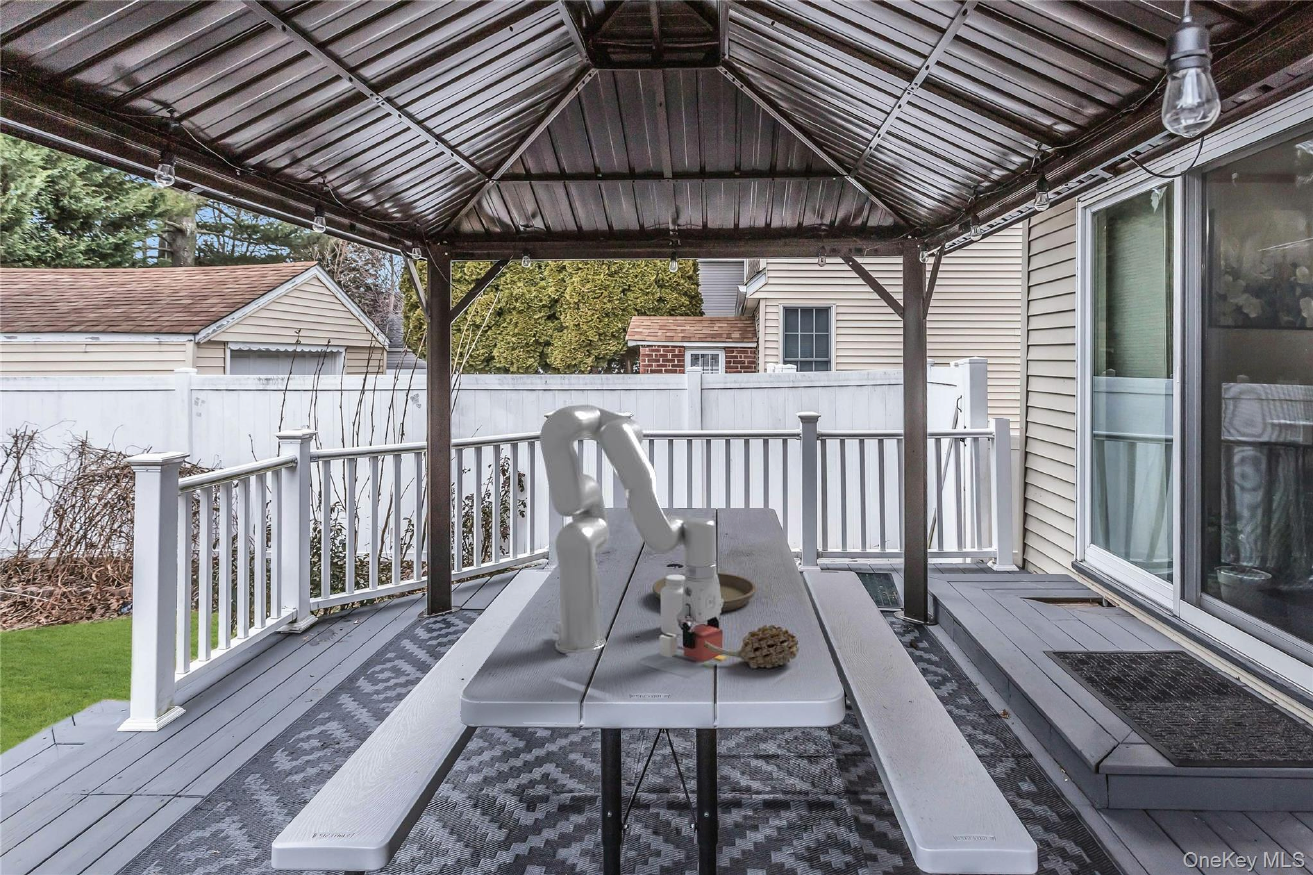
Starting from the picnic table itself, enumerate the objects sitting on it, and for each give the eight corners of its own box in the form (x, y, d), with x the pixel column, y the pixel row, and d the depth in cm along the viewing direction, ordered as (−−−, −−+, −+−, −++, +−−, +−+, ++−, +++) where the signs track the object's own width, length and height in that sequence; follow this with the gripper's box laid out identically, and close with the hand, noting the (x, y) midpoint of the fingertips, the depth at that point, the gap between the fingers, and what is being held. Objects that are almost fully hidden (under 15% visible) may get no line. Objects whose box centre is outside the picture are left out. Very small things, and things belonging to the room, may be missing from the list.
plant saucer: (747, 619, 209) (747, 603, 209) (639, 612, 218) (639, 596, 218) (763, 589, 239) (763, 574, 239) (668, 583, 248) (668, 569, 247)
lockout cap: (683, 654, 180) (684, 629, 180) (702, 647, 185) (703, 623, 184) (703, 661, 176) (703, 636, 175) (722, 654, 180) (722, 630, 179)
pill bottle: (697, 632, 199) (697, 576, 198) (677, 640, 193) (676, 582, 192) (675, 626, 204) (674, 571, 203) (654, 633, 198) (653, 577, 197)
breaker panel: (637, 666, 176) (636, 642, 176) (684, 644, 190) (684, 622, 189) (689, 682, 166) (688, 657, 166) (734, 658, 180) (734, 634, 180)
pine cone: (795, 660, 178) (795, 618, 178) (802, 676, 169) (802, 632, 168) (701, 660, 179) (701, 619, 178) (702, 676, 170) (702, 633, 169)
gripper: (691, 581, 170) (692, 655, 172) (734, 565, 184) (734, 635, 185) (664, 576, 175) (666, 648, 176) (708, 561, 188) (709, 628, 190)
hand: (701, 641), depth 181 cm, fingers open, 9 cm apart
